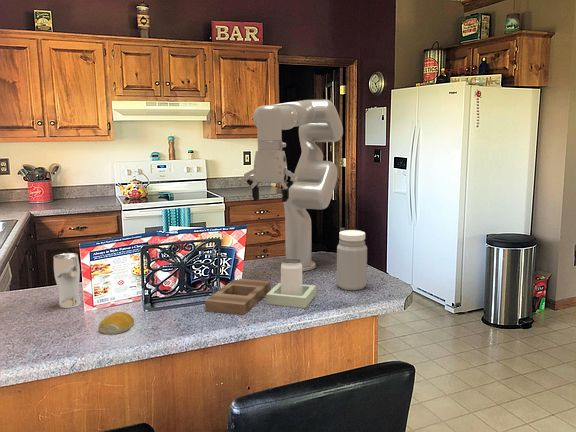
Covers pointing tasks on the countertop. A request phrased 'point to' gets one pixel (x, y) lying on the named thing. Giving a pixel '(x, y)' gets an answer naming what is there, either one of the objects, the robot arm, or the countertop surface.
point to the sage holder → (291, 296)
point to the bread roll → (116, 323)
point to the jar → (351, 260)
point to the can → (291, 277)
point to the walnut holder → (238, 296)
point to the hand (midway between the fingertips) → (270, 200)
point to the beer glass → (67, 279)
